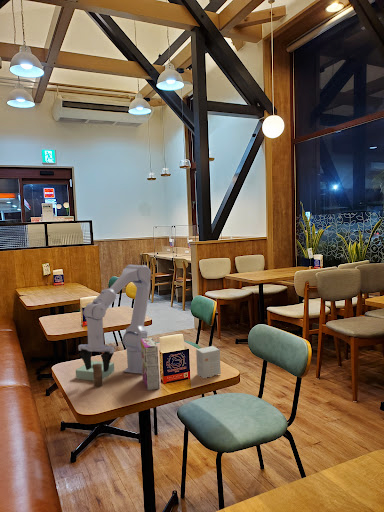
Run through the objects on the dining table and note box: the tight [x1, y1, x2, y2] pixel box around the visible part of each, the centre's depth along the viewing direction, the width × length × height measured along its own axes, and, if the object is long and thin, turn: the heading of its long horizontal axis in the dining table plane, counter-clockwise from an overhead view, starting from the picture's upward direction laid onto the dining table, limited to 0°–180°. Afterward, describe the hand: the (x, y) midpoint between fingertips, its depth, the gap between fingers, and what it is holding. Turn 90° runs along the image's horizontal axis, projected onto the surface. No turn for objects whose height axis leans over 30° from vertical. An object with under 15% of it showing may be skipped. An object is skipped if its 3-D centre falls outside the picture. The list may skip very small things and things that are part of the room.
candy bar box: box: [140, 337, 160, 391], centre depth 143 cm, size 11×5×16 cm, turn 17°
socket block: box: [75, 360, 115, 382], centre depth 155 cm, size 11×11×4 cm
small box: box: [195, 345, 221, 379], centre depth 150 cm, size 8×6×10 cm
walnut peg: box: [93, 364, 104, 388], centre depth 144 cm, size 3×3×8 cm
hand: (97, 370), depth 143 cm, fingers open, 7 cm apart
